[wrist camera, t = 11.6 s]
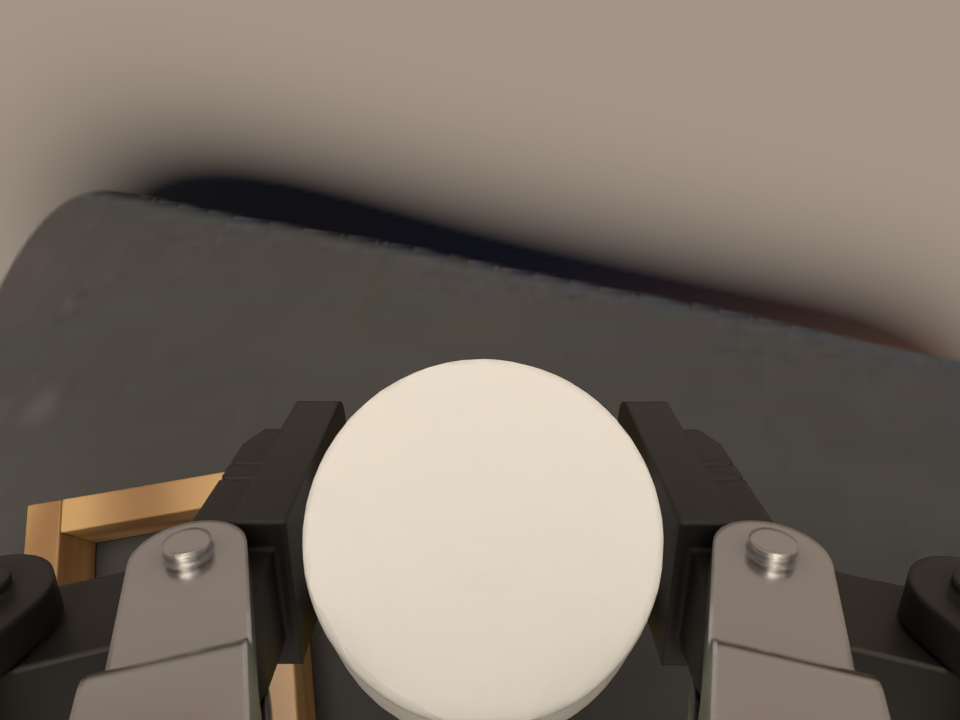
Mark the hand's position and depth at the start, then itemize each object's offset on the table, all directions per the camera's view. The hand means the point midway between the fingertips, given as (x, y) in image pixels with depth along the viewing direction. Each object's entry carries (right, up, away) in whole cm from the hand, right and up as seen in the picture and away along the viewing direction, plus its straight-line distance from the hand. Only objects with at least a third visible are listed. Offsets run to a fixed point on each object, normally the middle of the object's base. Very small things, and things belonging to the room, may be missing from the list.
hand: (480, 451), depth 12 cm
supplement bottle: (0, -4, +4) cm, 5 cm away
